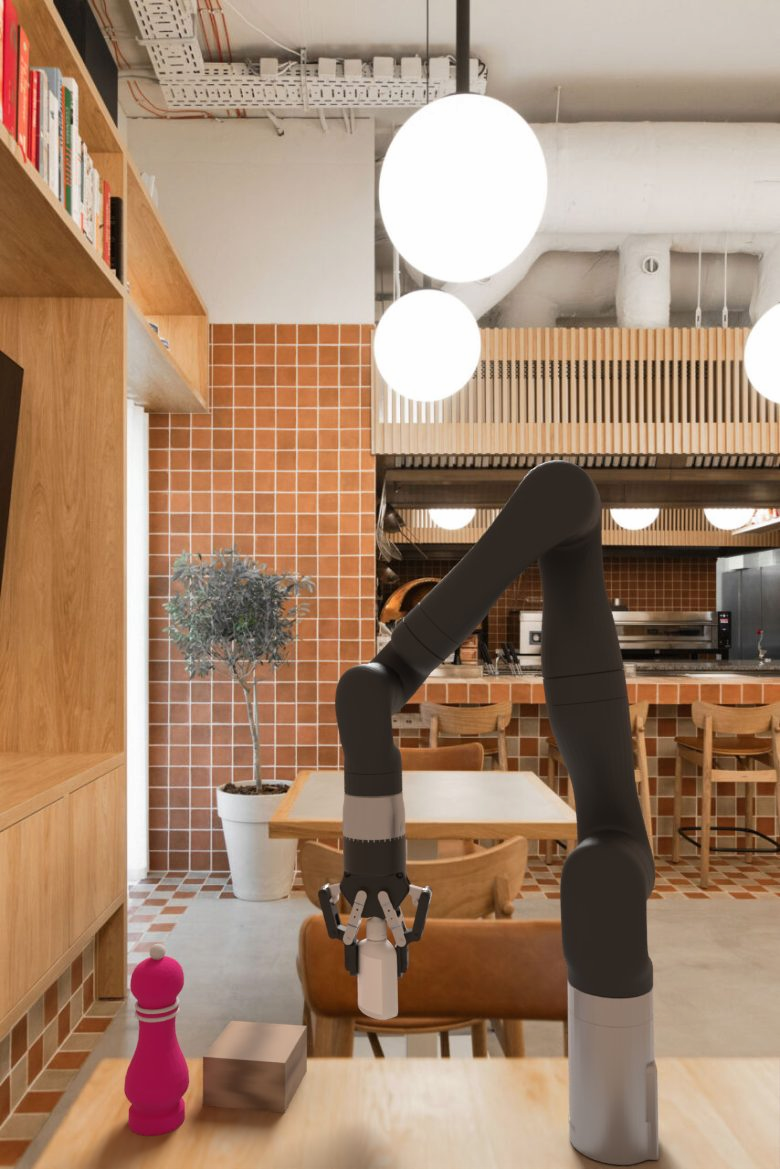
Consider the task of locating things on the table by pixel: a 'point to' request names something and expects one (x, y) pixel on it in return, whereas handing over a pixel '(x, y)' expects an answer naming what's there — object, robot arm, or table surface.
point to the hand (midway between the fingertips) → (376, 974)
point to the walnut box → (255, 1066)
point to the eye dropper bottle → (377, 972)
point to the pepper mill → (156, 1048)
